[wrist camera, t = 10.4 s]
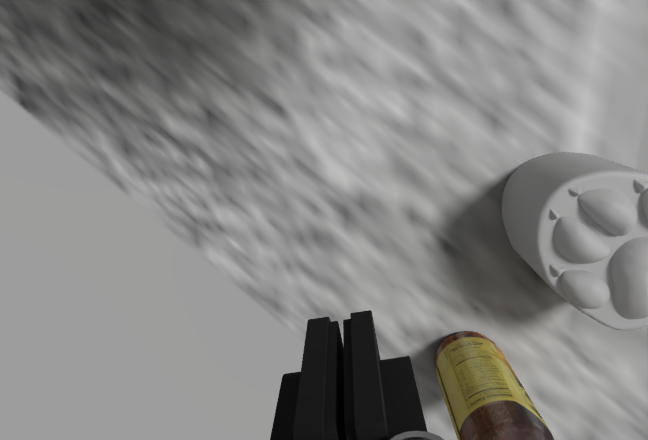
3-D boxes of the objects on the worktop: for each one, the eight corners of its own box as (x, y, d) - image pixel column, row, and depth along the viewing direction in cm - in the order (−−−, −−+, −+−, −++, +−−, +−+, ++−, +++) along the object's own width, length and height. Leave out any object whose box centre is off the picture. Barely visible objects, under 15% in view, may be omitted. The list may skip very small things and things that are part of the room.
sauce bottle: (491, 385, 44) (605, 623, 25) (426, 379, 44) (491, 612, 25) (505, 326, 42) (640, 537, 23) (437, 320, 42) (517, 525, 23)
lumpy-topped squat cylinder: (580, 301, 41) (640, 359, 33) (470, 219, 39) (505, 259, 31) (671, 213, 38) (763, 252, 30) (559, 119, 36) (623, 134, 28)
